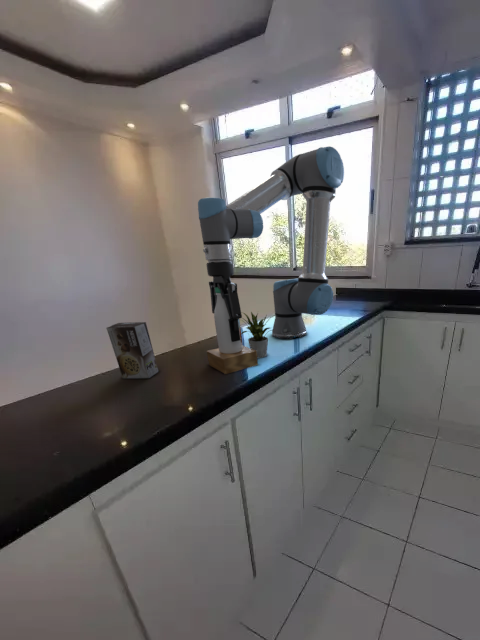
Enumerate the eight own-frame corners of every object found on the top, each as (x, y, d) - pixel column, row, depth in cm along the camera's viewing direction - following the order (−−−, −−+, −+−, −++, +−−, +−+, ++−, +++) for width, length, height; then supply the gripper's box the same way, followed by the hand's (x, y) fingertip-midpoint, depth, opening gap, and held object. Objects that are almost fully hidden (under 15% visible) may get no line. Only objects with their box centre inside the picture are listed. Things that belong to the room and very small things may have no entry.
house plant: (228, 357, 111) (221, 311, 104) (254, 347, 121) (250, 304, 114) (257, 364, 104) (253, 315, 97) (283, 353, 114) (280, 307, 107)
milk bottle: (240, 354, 98) (232, 287, 89) (216, 354, 99) (206, 288, 90) (244, 347, 105) (237, 284, 96) (222, 347, 105) (213, 285, 97)
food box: (159, 371, 101) (147, 321, 94) (149, 378, 95) (134, 326, 88) (133, 371, 102) (119, 322, 95) (121, 378, 96) (105, 326, 89)
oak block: (240, 357, 112) (238, 343, 109) (258, 365, 103) (256, 350, 101) (208, 365, 105) (206, 350, 103) (225, 374, 97) (223, 359, 94)
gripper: (192, 261, 95) (205, 335, 105) (223, 262, 81) (234, 347, 91) (215, 260, 99) (225, 331, 109) (248, 260, 85) (256, 342, 95)
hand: (229, 338), depth 100 cm, fingers closed on milk bottle, 8 cm apart
